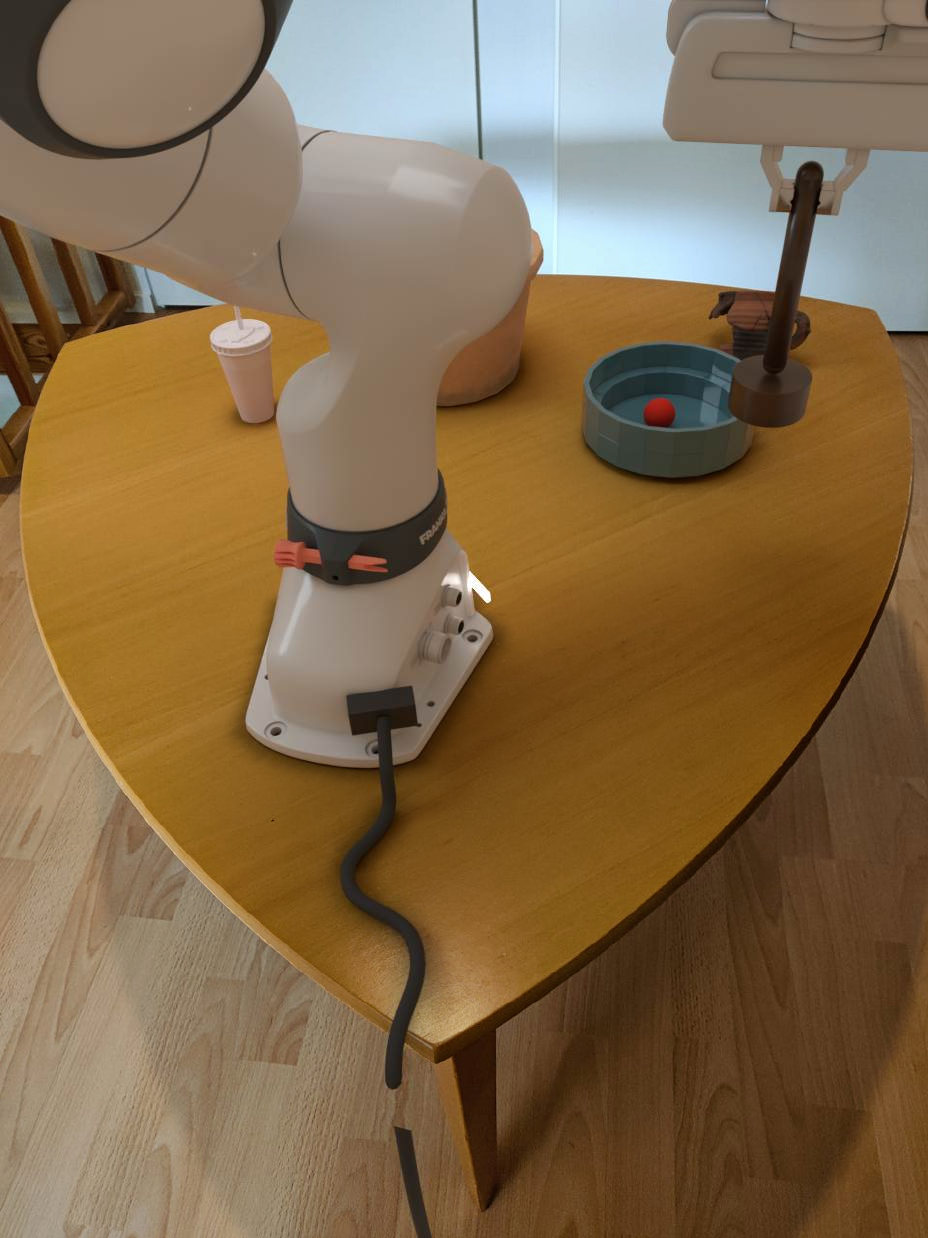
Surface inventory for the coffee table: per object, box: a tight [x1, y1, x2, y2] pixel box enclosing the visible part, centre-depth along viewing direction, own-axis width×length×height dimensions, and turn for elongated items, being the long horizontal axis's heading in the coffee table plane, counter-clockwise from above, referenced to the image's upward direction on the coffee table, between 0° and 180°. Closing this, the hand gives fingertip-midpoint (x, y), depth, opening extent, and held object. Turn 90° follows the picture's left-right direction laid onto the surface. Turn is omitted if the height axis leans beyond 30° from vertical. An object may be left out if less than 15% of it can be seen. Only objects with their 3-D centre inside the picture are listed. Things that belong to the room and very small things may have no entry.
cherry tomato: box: [643, 398, 675, 428], centre depth 101 cm, size 3×3×3 cm
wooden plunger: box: [728, 160, 825, 429], centre depth 73 cm, size 6×6×19 cm
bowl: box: [581, 340, 756, 479], centre depth 101 cm, size 17×17×6 cm
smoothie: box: [209, 306, 275, 424], centre depth 105 cm, size 6×6×14 cm
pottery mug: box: [708, 290, 812, 361], centre depth 113 cm, size 12×10×8 cm
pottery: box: [436, 227, 545, 407], centre depth 110 cm, size 22×22×14 cm
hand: (803, 210), depth 69 cm, fingers closed on wooden plunger
